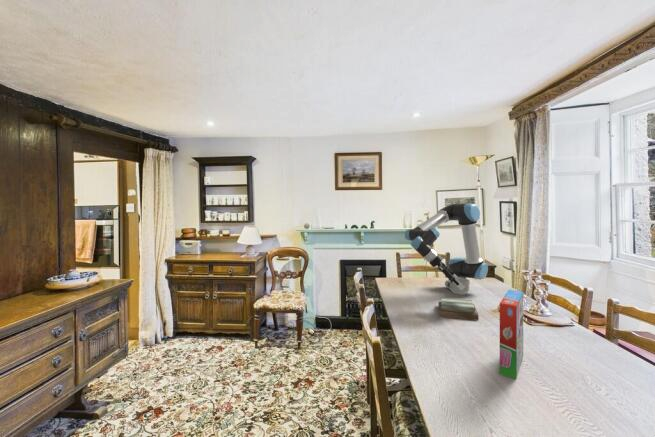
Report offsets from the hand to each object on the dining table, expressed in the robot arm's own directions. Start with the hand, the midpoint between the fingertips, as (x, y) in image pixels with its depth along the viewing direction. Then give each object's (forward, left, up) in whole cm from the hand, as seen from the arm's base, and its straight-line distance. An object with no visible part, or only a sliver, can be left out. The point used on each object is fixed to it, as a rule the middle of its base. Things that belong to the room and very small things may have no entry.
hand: (462, 286), depth 171 cm
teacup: (0, -3, -4) cm, 5 cm away
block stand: (0, -3, -16) cm, 16 cm away
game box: (+54, +13, -16) cm, 58 cm away
